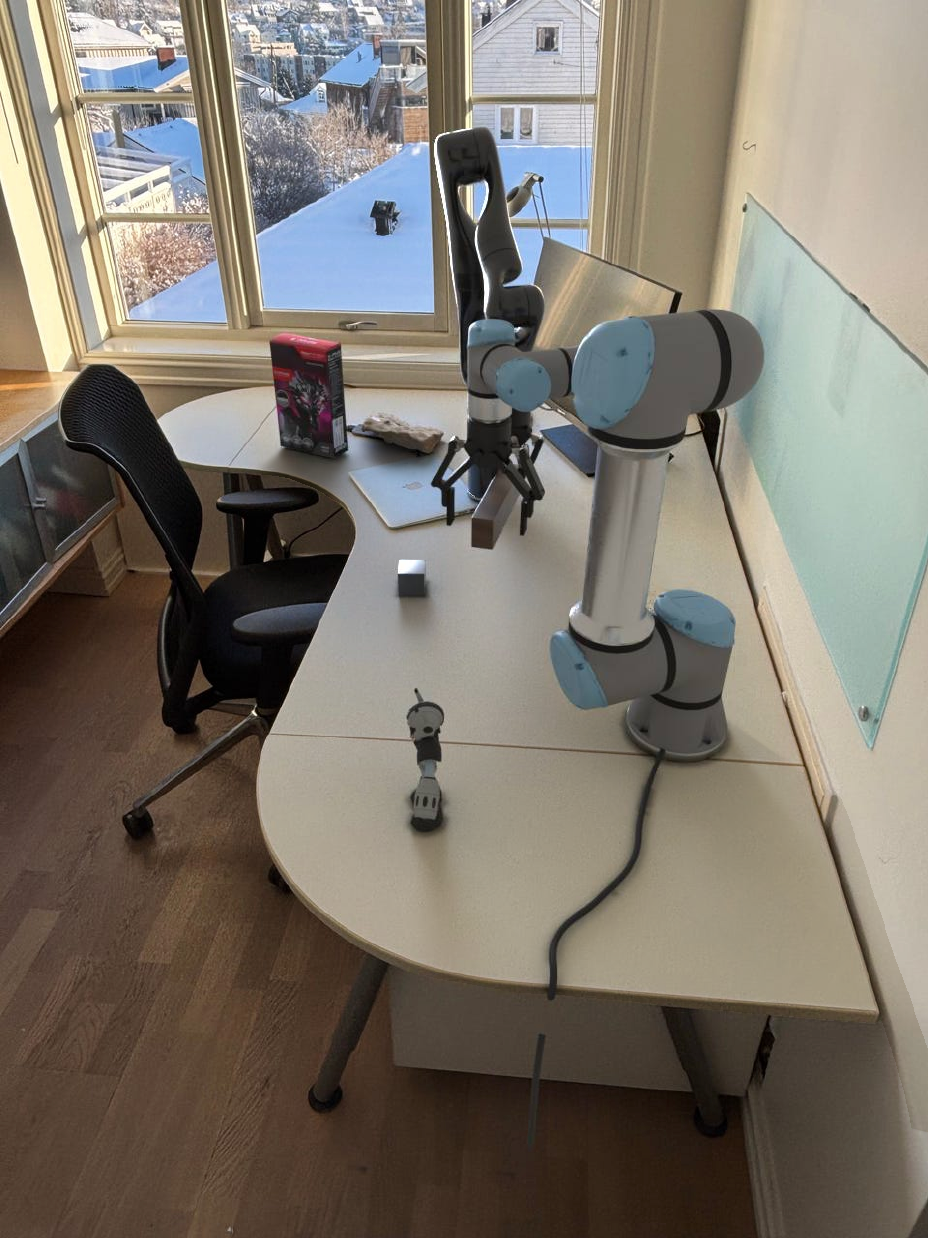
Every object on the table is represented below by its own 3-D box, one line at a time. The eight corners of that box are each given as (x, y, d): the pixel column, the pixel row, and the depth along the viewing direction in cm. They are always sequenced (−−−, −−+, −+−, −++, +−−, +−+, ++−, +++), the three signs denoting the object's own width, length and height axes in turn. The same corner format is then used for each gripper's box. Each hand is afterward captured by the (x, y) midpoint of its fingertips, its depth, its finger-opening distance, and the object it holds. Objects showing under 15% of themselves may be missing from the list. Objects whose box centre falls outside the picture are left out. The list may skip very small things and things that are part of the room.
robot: (446, 864, 120) (446, 749, 109) (409, 865, 120) (405, 750, 109) (442, 761, 137) (441, 652, 126) (409, 762, 136) (405, 652, 125)
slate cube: (424, 596, 175) (424, 573, 172) (398, 595, 175) (397, 573, 172) (425, 582, 179) (425, 560, 176) (400, 582, 179) (399, 559, 176)
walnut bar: (492, 550, 165) (493, 520, 162) (471, 547, 166) (471, 517, 163) (521, 492, 184) (522, 464, 181) (501, 490, 185) (502, 462, 182)
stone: (345, 437, 230) (349, 413, 227) (367, 428, 243) (371, 405, 241) (423, 461, 226) (429, 437, 224) (441, 451, 239) (446, 428, 237)
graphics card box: (278, 447, 232) (266, 338, 217) (294, 437, 237) (284, 331, 222) (334, 460, 225) (326, 350, 210) (350, 450, 230) (343, 341, 215)
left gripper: (552, 394, 172) (547, 478, 181) (479, 386, 175) (477, 469, 185) (544, 408, 166) (539, 494, 175) (468, 400, 169) (467, 485, 179)
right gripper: (566, 415, 155) (558, 526, 167) (425, 400, 161) (427, 509, 173) (558, 431, 149) (550, 546, 161) (412, 415, 155) (414, 527, 167)
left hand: (507, 481), depth 180 cm, fingers closed on walnut bar, 4 cm apart
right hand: (486, 527), depth 167 cm, fingers open, 13 cm apart
